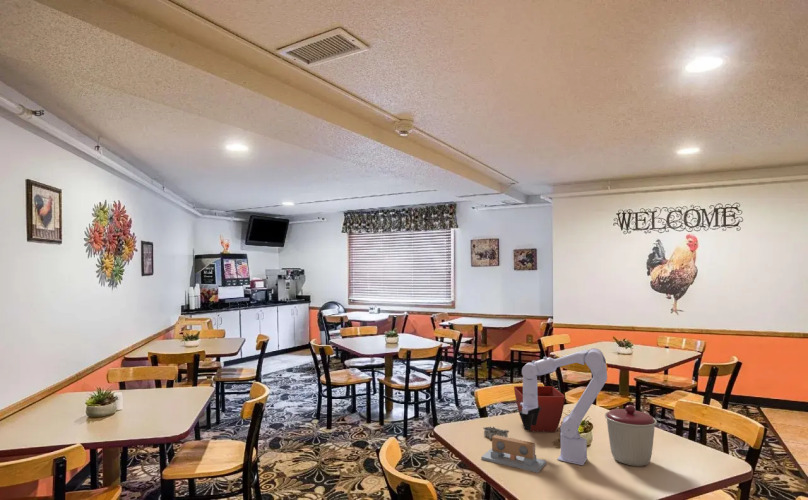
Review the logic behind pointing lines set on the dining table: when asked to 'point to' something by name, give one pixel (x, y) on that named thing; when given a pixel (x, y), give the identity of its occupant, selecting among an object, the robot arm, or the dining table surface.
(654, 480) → the dining table surface
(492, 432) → the stone castle ruin
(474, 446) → the dining table surface
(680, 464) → the dining table surface
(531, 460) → the display stand
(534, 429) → the plant pot
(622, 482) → the dining table surface
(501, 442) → the brown bar
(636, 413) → the canister
